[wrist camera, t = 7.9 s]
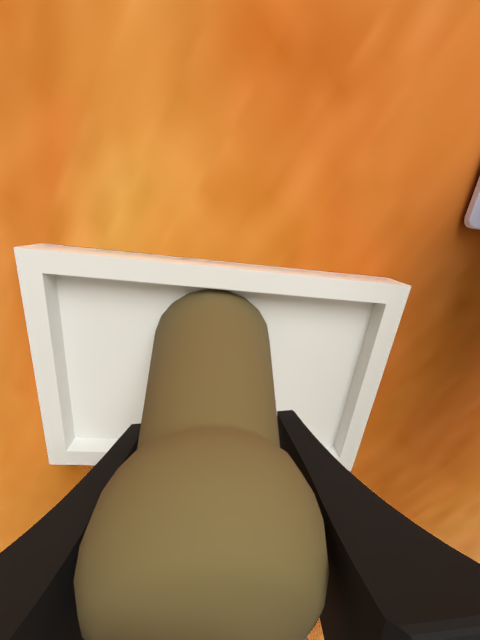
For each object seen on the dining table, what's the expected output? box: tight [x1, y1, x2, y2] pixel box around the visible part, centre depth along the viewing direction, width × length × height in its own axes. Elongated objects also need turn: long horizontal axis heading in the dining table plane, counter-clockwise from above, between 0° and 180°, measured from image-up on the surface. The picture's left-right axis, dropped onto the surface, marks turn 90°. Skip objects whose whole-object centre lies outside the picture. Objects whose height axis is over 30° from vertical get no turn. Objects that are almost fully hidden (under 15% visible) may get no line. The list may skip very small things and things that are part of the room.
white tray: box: [14, 243, 411, 471], centre depth 15 cm, size 18×12×2 cm, turn 84°
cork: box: [73, 289, 329, 640], centre depth 10 cm, size 6×6×11 cm
